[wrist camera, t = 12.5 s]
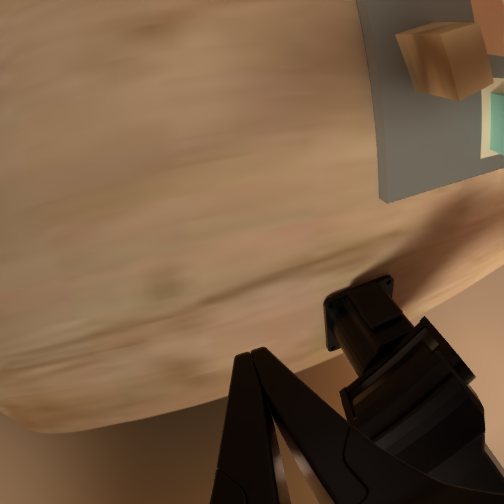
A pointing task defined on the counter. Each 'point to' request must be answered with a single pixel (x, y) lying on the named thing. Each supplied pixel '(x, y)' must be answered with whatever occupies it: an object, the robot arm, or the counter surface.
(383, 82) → the board
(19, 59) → the counter surface
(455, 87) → the oak cube
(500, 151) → the green cube
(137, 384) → the counter surface
